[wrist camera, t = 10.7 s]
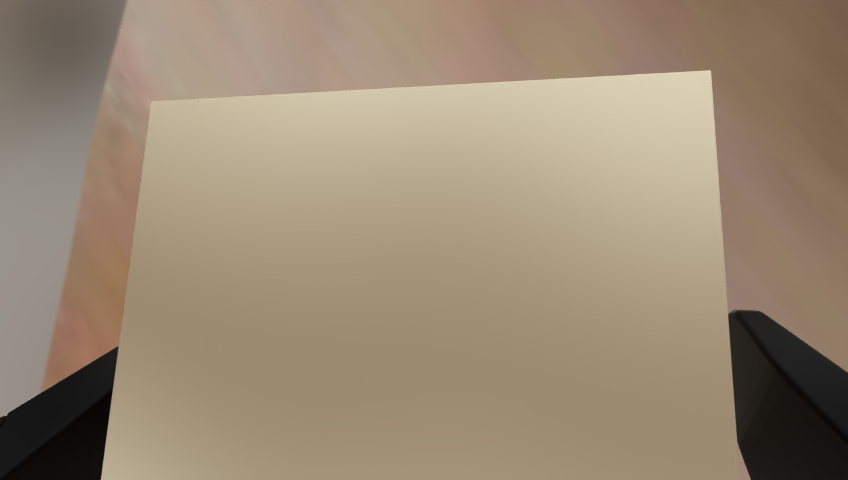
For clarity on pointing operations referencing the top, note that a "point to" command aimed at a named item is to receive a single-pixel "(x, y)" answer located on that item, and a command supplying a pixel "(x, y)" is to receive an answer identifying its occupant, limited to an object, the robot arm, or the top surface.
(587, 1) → the top surface
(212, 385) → the maple pillar
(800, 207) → the top surface
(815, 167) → the top surface
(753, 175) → the top surface
